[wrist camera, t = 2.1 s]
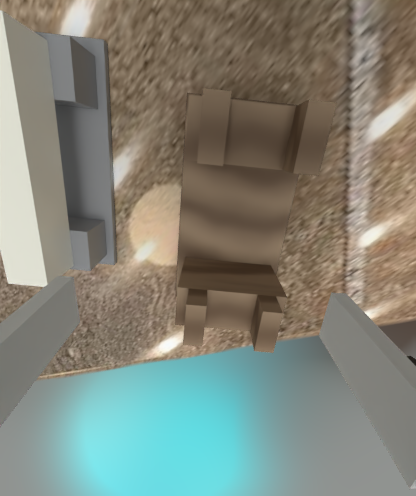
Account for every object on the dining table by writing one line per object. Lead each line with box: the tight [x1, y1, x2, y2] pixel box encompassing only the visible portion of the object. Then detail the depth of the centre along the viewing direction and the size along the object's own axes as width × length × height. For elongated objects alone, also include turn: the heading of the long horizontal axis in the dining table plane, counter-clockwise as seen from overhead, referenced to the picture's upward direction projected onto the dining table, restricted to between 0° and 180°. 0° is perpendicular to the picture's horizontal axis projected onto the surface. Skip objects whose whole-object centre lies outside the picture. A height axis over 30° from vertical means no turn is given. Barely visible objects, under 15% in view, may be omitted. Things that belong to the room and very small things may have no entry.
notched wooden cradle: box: [175, 88, 337, 353], centre depth 27 cm, size 26×14×12 cm, turn 174°
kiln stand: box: [35, 32, 117, 271], centre depth 28 cm, size 26×10×6 cm, turn 174°
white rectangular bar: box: [0, 10, 74, 287], centre depth 23 cm, size 22×4×5 cm, turn 174°
